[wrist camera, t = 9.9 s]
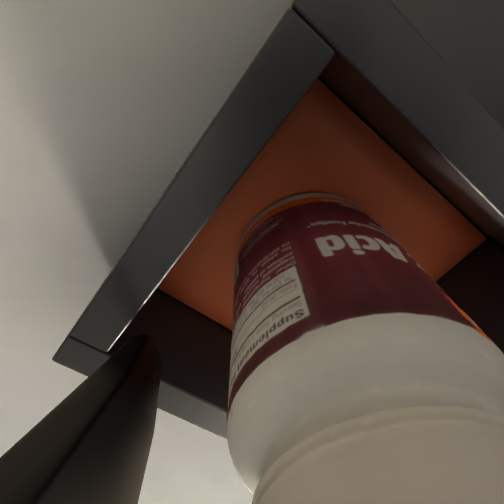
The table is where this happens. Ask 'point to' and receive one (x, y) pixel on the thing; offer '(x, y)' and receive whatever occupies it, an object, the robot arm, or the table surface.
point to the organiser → (321, 179)
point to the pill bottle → (356, 368)
